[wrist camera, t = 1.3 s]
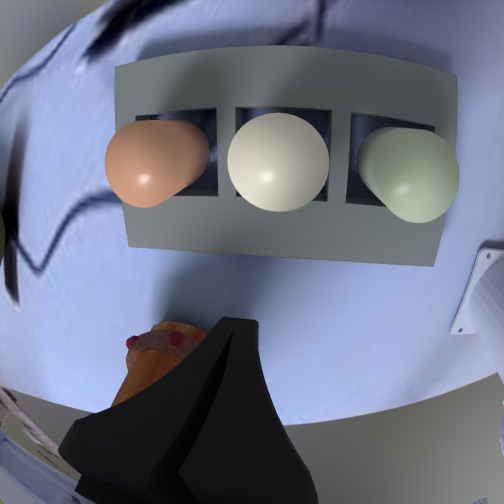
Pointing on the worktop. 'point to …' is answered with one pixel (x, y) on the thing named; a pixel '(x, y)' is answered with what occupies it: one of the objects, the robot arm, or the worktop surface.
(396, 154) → the button sage
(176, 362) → the mug
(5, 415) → the house plant
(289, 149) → the button cream
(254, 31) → the worktop surface
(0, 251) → the fruit
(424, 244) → the panel
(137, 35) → the worktop surface
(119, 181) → the button terracotta
